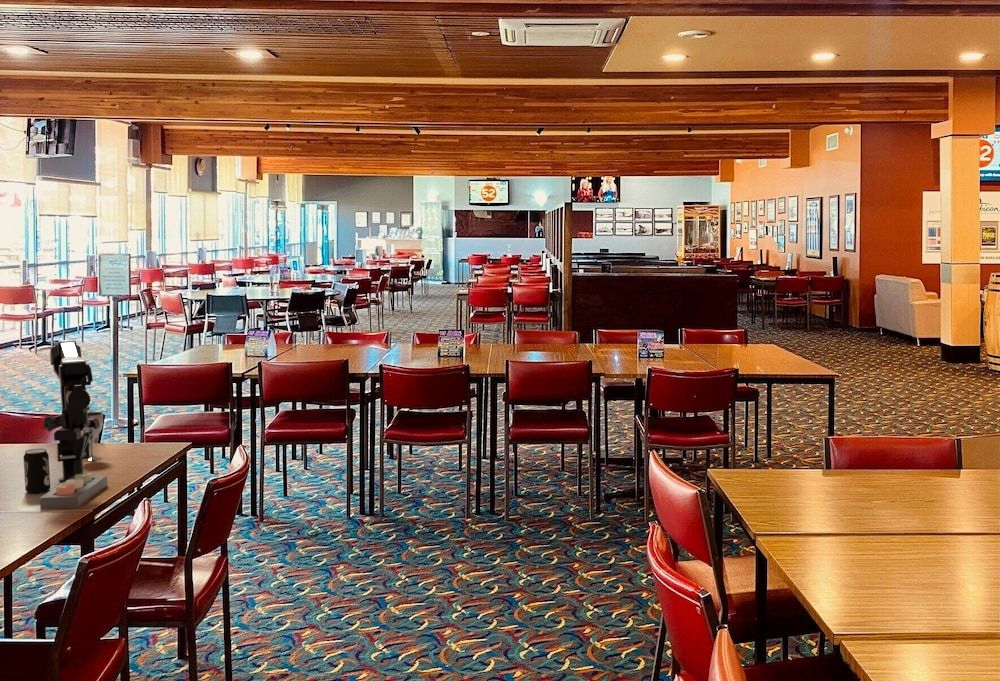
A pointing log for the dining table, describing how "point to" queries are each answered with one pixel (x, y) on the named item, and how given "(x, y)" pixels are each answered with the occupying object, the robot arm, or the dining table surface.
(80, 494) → the egg tray
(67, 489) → the orange rounded dome
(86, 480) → the pale green egg
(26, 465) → the beverage can
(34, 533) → the dining table surface
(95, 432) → the wine glass
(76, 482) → the beige domed piece
